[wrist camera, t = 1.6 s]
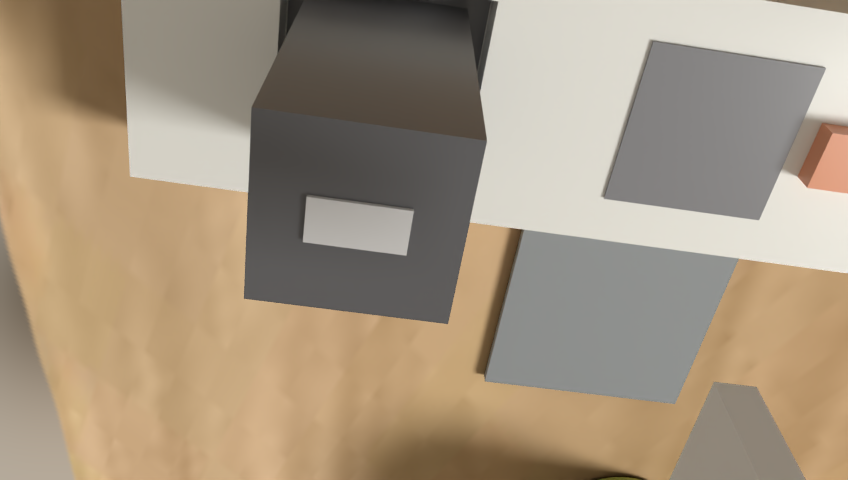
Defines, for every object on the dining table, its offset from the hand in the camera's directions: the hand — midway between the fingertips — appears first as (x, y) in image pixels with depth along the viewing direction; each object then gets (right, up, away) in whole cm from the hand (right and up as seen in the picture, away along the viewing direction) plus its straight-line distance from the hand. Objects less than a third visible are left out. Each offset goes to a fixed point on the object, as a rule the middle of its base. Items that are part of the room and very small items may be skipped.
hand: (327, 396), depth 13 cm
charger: (0, +8, +13) cm, 15 cm away
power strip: (+8, +8, +15) cm, 19 cm away
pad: (+10, 0, +21) cm, 23 cm away
